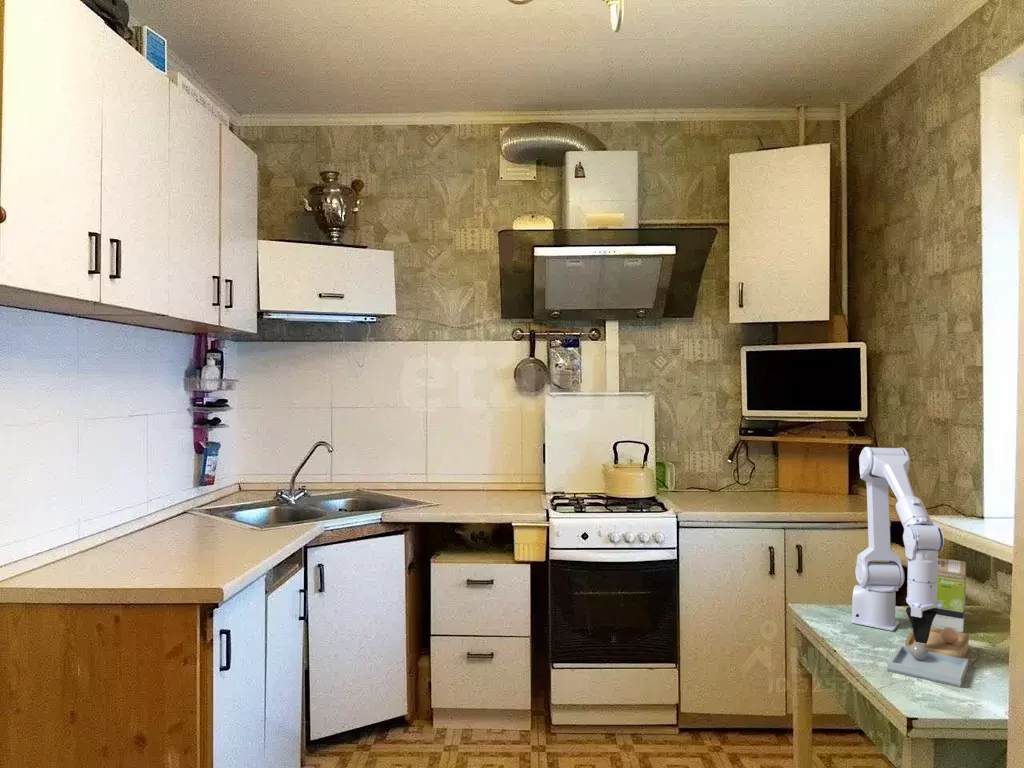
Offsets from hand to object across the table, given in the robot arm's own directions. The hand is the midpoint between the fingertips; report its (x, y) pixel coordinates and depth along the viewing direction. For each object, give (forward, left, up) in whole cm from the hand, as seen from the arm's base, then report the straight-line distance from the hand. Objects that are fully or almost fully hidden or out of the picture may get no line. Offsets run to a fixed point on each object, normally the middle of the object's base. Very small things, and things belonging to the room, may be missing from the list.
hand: (921, 642), depth 160 cm
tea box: (0, +32, -4) cm, 32 cm away
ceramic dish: (+2, -6, -3) cm, 8 cm away
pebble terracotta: (+4, +6, +1) cm, 8 cm away
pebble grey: (0, -3, -1) cm, 3 cm away
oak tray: (+2, +6, -3) cm, 8 cm away
